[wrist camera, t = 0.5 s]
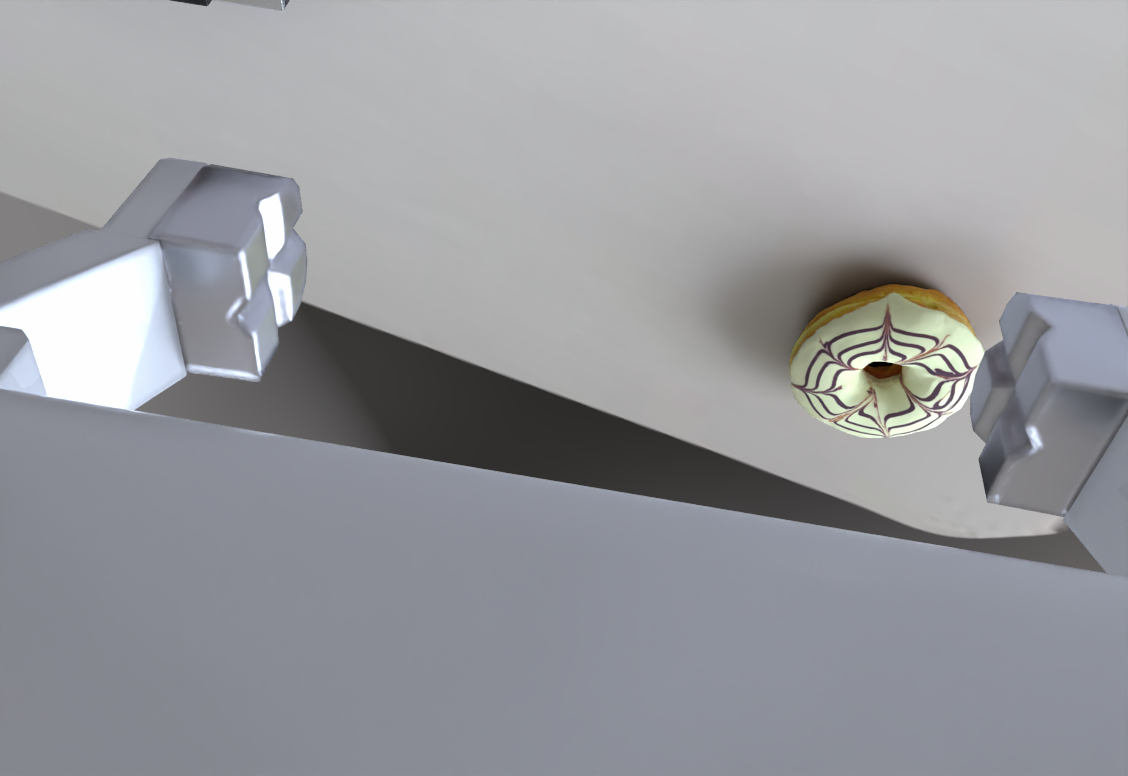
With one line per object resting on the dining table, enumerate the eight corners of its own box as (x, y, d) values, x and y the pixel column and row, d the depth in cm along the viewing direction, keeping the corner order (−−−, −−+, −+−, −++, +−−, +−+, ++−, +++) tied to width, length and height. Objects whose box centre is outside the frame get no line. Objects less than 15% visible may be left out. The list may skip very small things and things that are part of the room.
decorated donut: (1019, 330, 62) (1029, 379, 59) (884, 422, 69) (888, 469, 66) (881, 245, 58) (885, 293, 56) (755, 351, 66) (754, 398, 63)
